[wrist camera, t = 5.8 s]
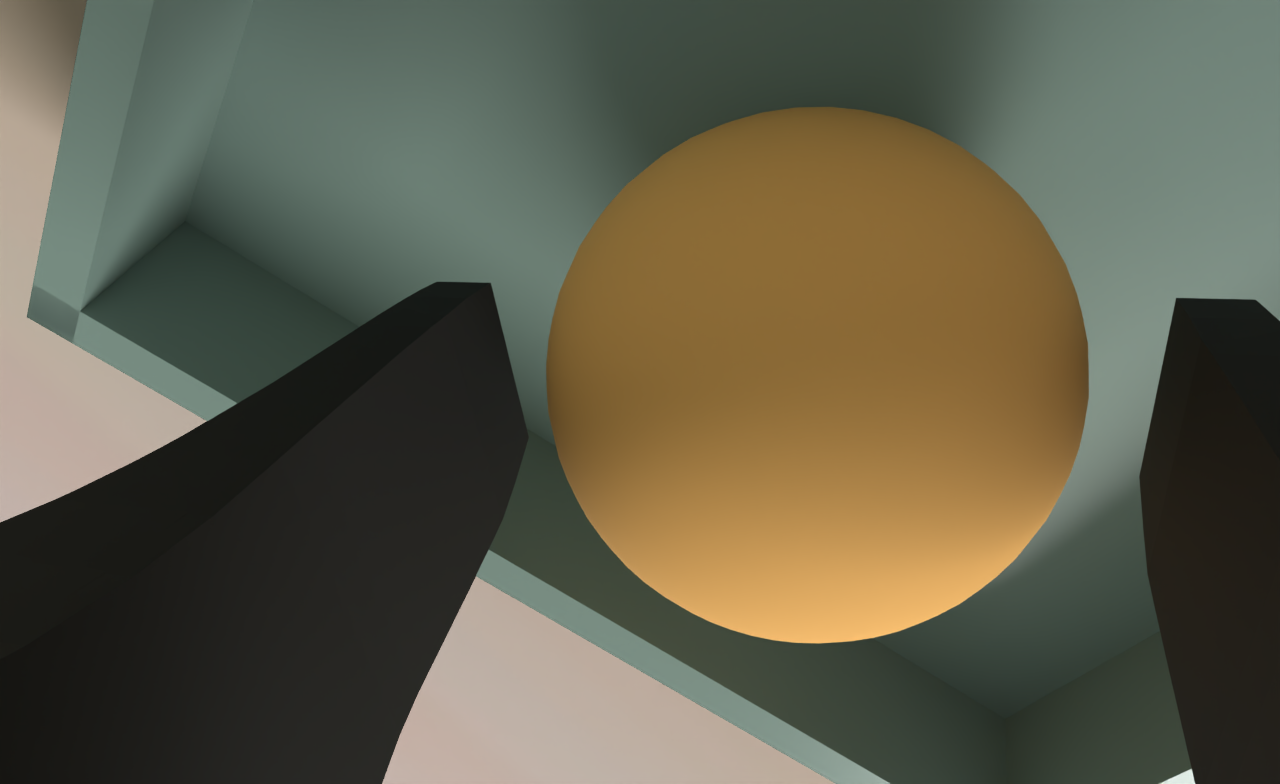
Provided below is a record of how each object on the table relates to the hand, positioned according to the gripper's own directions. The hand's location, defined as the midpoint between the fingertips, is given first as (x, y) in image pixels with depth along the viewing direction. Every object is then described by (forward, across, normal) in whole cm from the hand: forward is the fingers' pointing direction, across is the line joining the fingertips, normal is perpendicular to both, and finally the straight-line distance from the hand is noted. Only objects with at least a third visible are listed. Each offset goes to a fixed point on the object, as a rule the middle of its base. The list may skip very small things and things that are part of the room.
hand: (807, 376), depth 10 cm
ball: (+2, 0, 0) cm, 2 cm away
